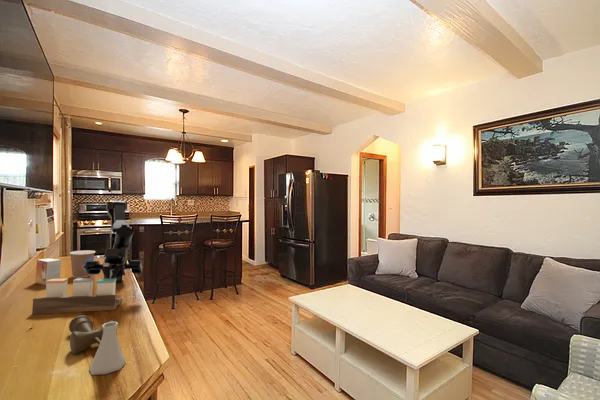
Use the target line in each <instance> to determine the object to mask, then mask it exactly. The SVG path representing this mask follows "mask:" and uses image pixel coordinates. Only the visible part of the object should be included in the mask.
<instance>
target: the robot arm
mask: <svg viewBox="0 0 600 400" xmlns="http://www.w3.org/2000/svg"><path fill="white" fill-rule="evenodd" d="M105 210H107V216H108V217H109V218H110V230H109V231H110V232H109V238H110V242H109V243H110V246H109V247H110V248H109V247H108V248H105V251H104V256H103V258H104V260H103V263H102V264H101V263H100V260H93V261H87V262H86V263H85V266H84V267H85V269H86V271H87V273H88V274H90V276H91V275H99V274H100V273H101V272H102V273H103V279H113V278H116V284H117V283H124V282H125V281H124V280H123V276H125V275H126V271H127V270H130V271H131V273H132V274H142V272H143V264H142V261H141V260H140V259H139V260H138V259H136V260H135V259H134V260H131V259H130V260H129V261H128V257H127V256H128V253H129V250H130V246H131V242H132V238H133V236H135V232H134V229H132V227H130V224H129V223H128V222H127V221H126V211H127V210H128V202H126V201H124V200H109V201H106V204H105ZM127 262H128V263H127Z"/></svg>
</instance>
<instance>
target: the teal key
mask: <svg viewBox="0 0 600 400" xmlns="http://www.w3.org/2000/svg"><path fill="white" fill-rule="evenodd" d="M116 285H117V283H116V278H113V279H104V278H100V279H97V281H96V295H95V296H98V295H116Z"/></svg>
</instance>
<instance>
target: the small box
mask: <svg viewBox="0 0 600 400" xmlns="http://www.w3.org/2000/svg"><path fill="white" fill-rule="evenodd" d="M61 269H62V259H56V258H52V257H51V258H50V257H48V258H41V259H37V260H36V269H35V271H36V272H35V282H34V283H35V284H39V285H43V286H46V281H47V280H50V279H61Z"/></svg>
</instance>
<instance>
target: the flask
mask: <svg viewBox="0 0 600 400" xmlns="http://www.w3.org/2000/svg"><path fill="white" fill-rule="evenodd" d="M118 326H119V323H118V321H114V322H109V321H108V322H105V323H104V324H102V325H101V327H102V328H103V336H102V340H101V343H100V345H99V344H98V348H97V350H96V352H95V355H94V357H93V359H92V362H91V363H90V366H89V372H90V374H91V376H92V375H93V376H94V375H107V374H110V373H113V372H116V371H119V370H121V369H122V367H123V366H124V365H125V364H126V359H125V356H124V354H123V352H122V349H121V346H120V344H119V340H118V332H117V333H116V328H118Z"/></svg>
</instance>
